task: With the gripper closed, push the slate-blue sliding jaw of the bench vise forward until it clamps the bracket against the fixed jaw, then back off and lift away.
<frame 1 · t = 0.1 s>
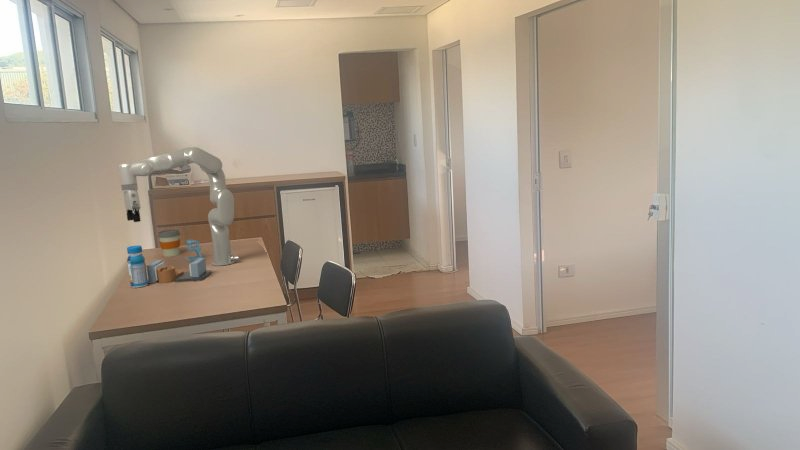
hand: (134, 220, 317), 31 cm above the table, tool pointing down, fingers open, 9 cm apart
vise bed: (193, 277, 321), on the table
beverage bottle: (139, 286, 310), on the table
bracket: (171, 279, 321), on the table
reusable coffee cup: (171, 255, 385), on the table
light blue piece: (194, 259, 368), on the table
fixed jaw: (157, 279, 321), on the table
sliding jaw: (197, 267, 320), point 5 cm above the table, slide at 0.0 cm
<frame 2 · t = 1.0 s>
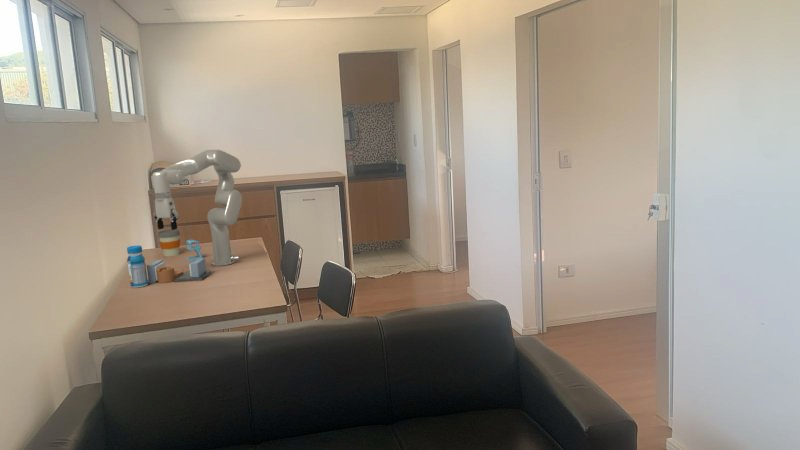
hand: (167, 229, 317), 26 cm above the table, tool pointing down, fingers open, 9 cm apart
nothing on the table moved.
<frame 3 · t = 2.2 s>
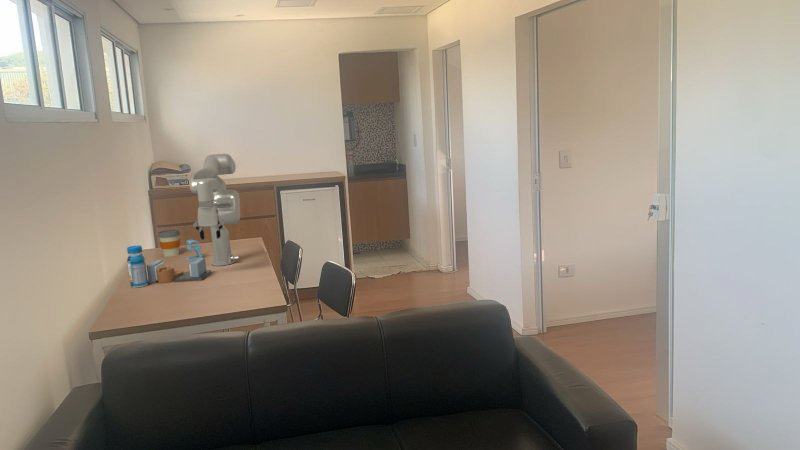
hand: (210, 238, 317), 20 cm above the table, tool pointing down, fingers open, 7 cm apart
nothing on the table moved.
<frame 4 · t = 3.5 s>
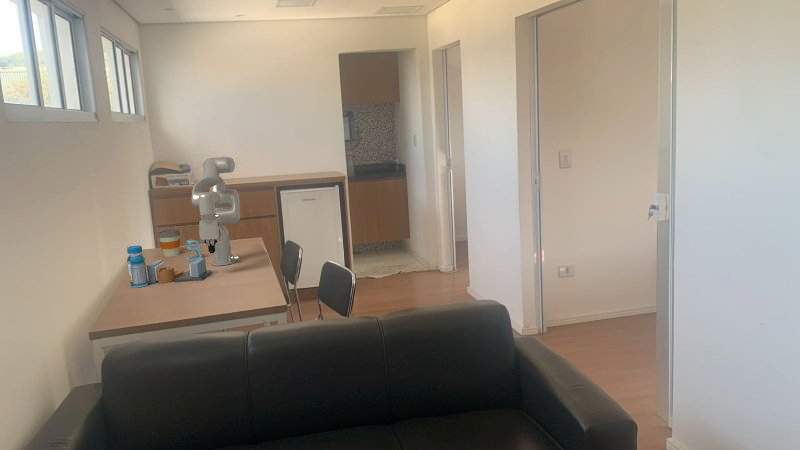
hand: (212, 252, 318), 12 cm above the table, tool pointing down, fingers closed
bracket: (171, 279, 321), on the table, touching fixed jaw
everything else where it was.
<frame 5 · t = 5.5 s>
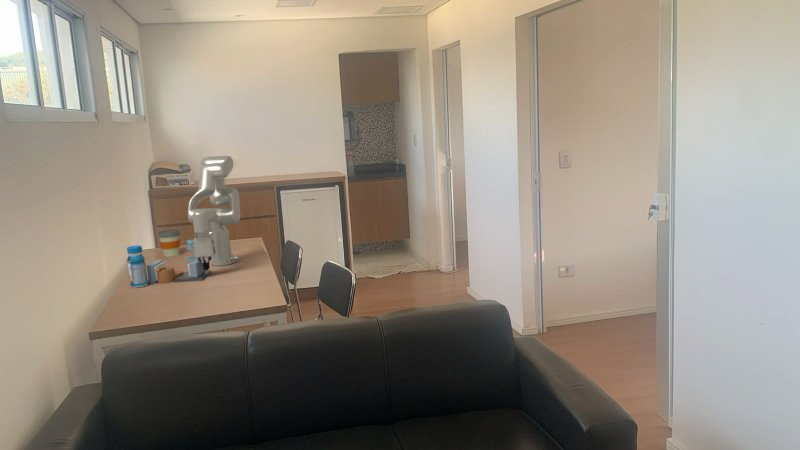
hand: (206, 269, 320), 4 cm above the table, tool pointing down, fingers closed
bracket: (171, 279, 320), on the table
sliding jaw: (196, 267, 320), point 5 cm above the table, slide at 0.7 cm, touching gripper
everything else where it was.
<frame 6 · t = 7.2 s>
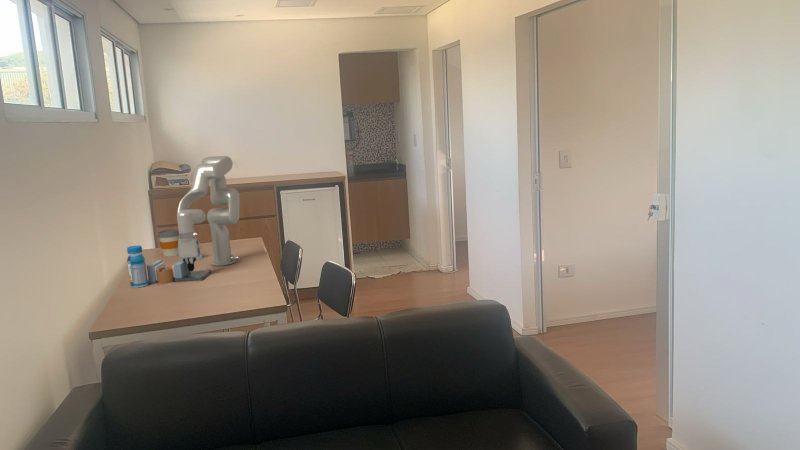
hand: (191, 270, 320), 4 cm above the table, tool pointing down, fingers closed
bracket: (169, 279, 320), on the table, touching fixed jaw, sliding jaw
sliding jaw: (181, 268, 320), point 5 cm above the table, slide at 8.6 cm, touching gripper, bracket
everything else where it was.
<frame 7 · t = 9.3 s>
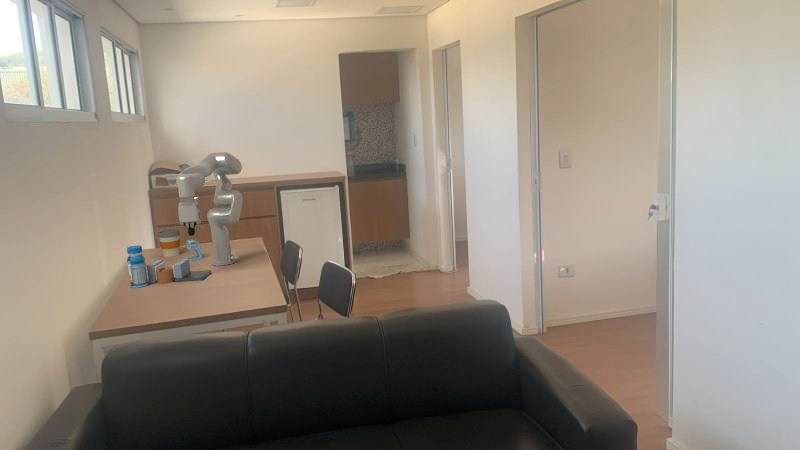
hand: (191, 235, 317), 22 cm above the table, tool pointing down, fingers closed
bracket: (169, 280, 320), on the table
sliding jaw: (181, 268, 320), point 5 cm above the table, slide at 8.5 cm
everything else where it was.
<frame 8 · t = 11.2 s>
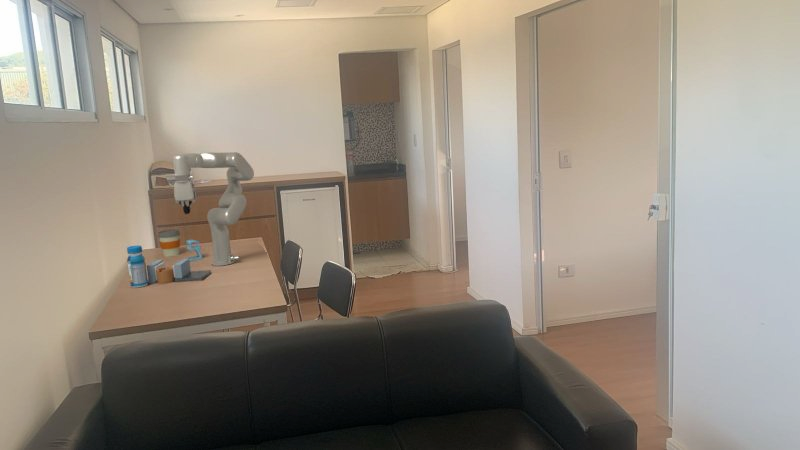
hand: (187, 213, 325), 32 cm above the table, tool pointing down, fingers closed
nothing on the table moved.
at the end: sliding jaw slide at 8.4 cm; bracket 1.0 cm from the target spot, on the table; bracket tilted 0° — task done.
